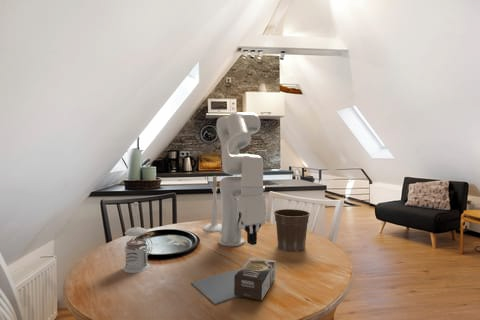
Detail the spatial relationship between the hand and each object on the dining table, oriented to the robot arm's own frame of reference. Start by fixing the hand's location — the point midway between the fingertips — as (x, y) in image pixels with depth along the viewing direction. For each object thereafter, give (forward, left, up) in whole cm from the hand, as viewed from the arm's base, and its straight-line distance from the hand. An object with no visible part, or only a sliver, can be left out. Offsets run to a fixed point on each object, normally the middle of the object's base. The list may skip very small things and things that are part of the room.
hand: (251, 243), depth 102 cm
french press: (-31, -30, -12) cm, 45 cm away
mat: (0, -10, -12) cm, 16 cm away
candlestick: (-61, +20, -12) cm, 65 cm away
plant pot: (-15, +34, -12) cm, 39 cm away
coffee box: (+2, +4, -8) cm, 9 cm away
